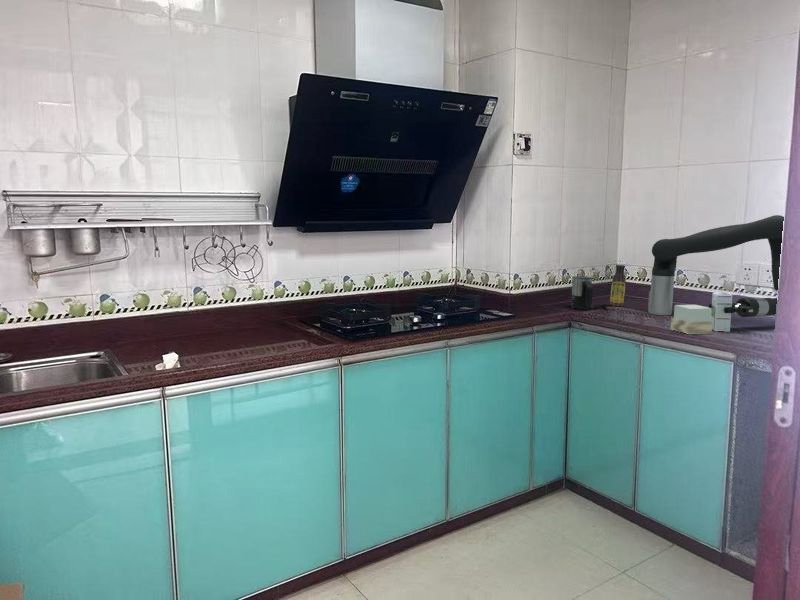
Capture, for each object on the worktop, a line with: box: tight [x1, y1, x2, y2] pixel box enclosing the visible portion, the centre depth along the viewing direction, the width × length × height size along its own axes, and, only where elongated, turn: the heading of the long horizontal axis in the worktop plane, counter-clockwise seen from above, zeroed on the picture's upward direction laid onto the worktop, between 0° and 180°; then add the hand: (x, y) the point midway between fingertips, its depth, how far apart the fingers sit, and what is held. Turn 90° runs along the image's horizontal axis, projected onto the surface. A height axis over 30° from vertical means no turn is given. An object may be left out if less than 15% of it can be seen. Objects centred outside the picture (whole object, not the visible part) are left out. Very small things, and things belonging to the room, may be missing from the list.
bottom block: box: [670, 317, 713, 335], centre depth 227 cm, size 10×10×5 cm
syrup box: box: [711, 291, 733, 333], centre depth 229 cm, size 6×6×14 cm
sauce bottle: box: [609, 264, 627, 307], centre depth 287 cm, size 7×6×20 cm
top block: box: [673, 304, 712, 322], centre depth 226 cm, size 9×9×5 cm
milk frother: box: [570, 275, 611, 310], centre depth 279 cm, size 14×16×15 cm
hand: (716, 308), depth 229 cm, fingers closed on syrup box, 7 cm apart
